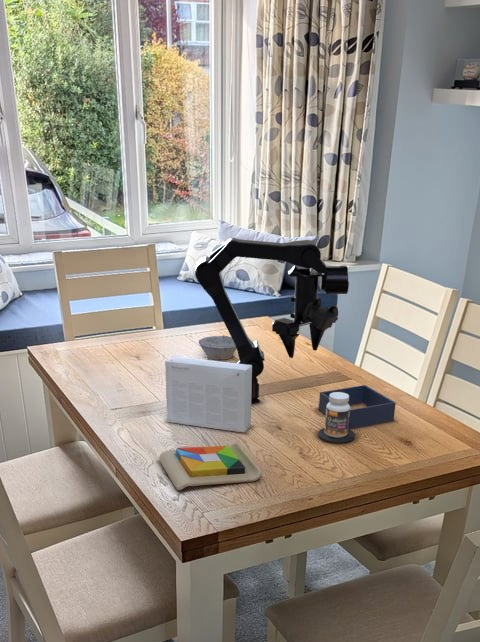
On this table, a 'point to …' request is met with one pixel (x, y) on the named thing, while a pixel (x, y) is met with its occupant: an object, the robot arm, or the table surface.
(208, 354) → the bowl
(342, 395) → the pill bottle
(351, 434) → the coaster
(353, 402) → the open box
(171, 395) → the skincare box
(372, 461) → the table surface
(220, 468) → the wooden puzzle
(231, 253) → the robot arm
